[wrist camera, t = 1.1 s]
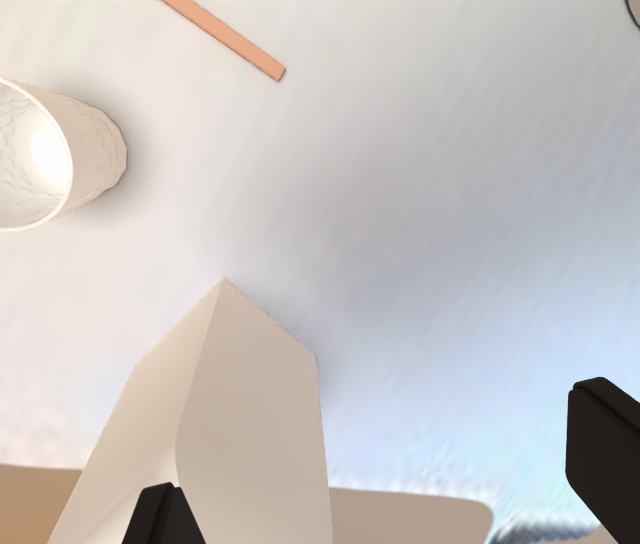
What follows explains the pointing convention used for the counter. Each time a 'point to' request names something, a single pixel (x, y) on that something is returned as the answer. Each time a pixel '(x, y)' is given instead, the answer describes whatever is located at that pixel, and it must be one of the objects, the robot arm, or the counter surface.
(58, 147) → the white cup
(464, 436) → the counter surface
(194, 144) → the counter surface
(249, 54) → the strips
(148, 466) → the milk
